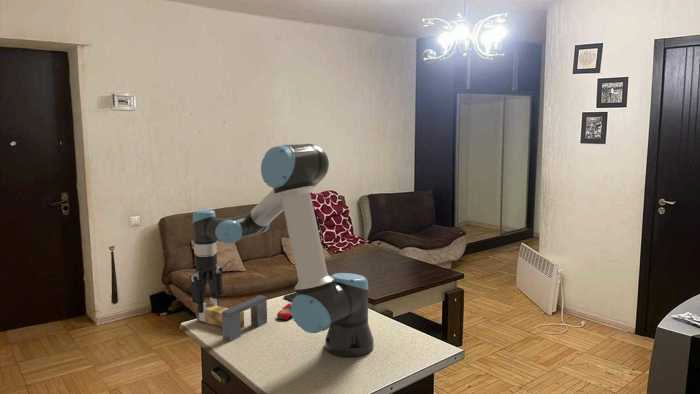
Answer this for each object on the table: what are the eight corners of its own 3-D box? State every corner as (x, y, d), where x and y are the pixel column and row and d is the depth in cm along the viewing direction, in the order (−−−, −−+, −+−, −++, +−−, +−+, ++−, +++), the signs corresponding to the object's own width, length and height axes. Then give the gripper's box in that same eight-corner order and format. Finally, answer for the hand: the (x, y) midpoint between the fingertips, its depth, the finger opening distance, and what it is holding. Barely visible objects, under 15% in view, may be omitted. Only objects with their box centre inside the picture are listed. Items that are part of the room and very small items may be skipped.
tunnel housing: (267, 322, 183) (266, 296, 181) (229, 341, 167) (228, 313, 165) (260, 320, 184) (259, 295, 183) (223, 339, 168) (221, 311, 167)
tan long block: (244, 326, 179) (243, 312, 178) (235, 330, 175) (234, 316, 174) (206, 316, 188) (206, 302, 187) (196, 320, 184) (196, 306, 183)
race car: (286, 322, 183) (286, 312, 183) (274, 320, 186) (273, 309, 185) (307, 310, 195) (307, 300, 194) (295, 308, 197) (295, 298, 197)
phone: (297, 291, 213) (321, 300, 202) (297, 294, 213) (321, 303, 203) (282, 296, 208) (306, 305, 197) (282, 299, 208) (306, 308, 197)
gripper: (216, 247, 190) (218, 308, 193) (178, 258, 175) (181, 324, 179) (231, 250, 186) (233, 312, 190) (193, 261, 171) (197, 328, 175)
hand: (208, 318), depth 184 cm, fingers closed on tan long block, 5 cm apart
